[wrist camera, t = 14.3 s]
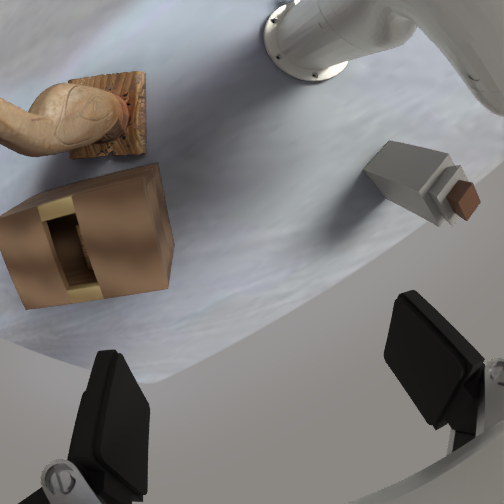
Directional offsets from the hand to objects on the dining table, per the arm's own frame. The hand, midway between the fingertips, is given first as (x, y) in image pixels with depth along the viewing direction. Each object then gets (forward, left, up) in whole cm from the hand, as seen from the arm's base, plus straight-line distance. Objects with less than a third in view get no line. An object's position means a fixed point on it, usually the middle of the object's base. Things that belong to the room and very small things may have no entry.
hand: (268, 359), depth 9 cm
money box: (+3, -17, -33) cm, 38 cm away
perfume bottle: (+2, +27, -34) cm, 43 cm away
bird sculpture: (-11, -13, -34) cm, 38 cm away
